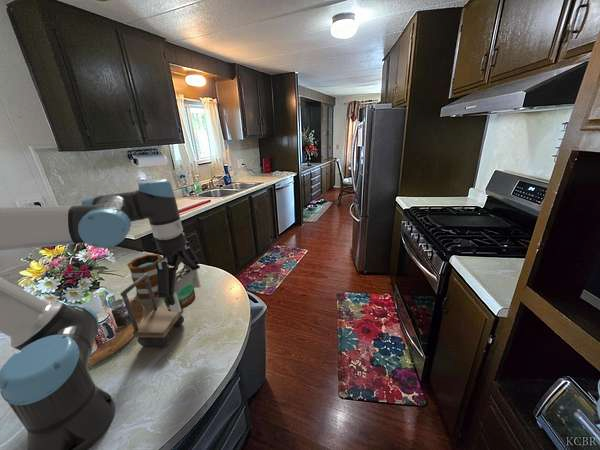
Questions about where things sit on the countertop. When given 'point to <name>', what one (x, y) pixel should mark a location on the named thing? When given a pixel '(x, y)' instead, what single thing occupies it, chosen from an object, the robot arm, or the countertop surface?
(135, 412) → the countertop surface
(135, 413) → the countertop surface
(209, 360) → the countertop surface
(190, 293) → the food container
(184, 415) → the countertop surface
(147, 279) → the trolley
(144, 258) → the mug
